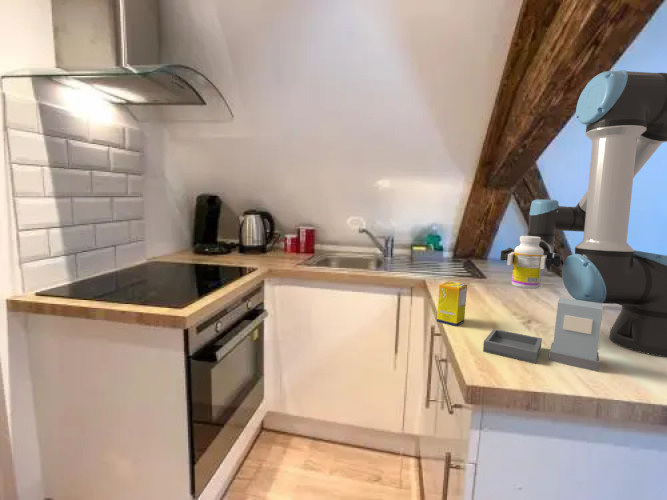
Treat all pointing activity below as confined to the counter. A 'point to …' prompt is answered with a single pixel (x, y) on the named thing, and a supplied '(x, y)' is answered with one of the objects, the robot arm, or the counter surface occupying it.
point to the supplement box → (451, 303)
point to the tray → (513, 345)
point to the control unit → (577, 333)
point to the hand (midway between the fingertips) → (525, 261)
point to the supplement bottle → (527, 263)
